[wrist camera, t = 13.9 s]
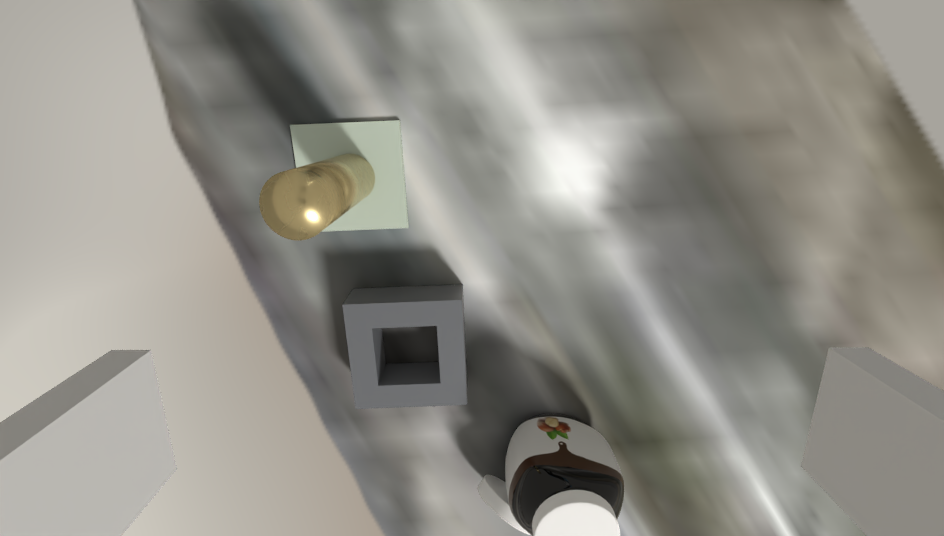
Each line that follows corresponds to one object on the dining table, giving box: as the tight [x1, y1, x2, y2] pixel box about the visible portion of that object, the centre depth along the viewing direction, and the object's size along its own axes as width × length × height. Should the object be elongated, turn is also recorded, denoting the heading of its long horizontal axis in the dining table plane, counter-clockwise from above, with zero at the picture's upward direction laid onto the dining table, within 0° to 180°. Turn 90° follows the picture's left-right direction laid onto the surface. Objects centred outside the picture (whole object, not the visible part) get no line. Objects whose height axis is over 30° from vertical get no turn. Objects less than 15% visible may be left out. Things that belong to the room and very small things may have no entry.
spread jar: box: [477, 414, 624, 536], centre depth 44 cm, size 12×11×12 cm
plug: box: [259, 154, 375, 240], centre depth 34 cm, size 4×4×14 cm
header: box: [342, 284, 467, 409], centre depth 44 cm, size 10×10×4 cm
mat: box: [290, 120, 409, 231], centre depth 41 cm, size 9×9×1 cm
